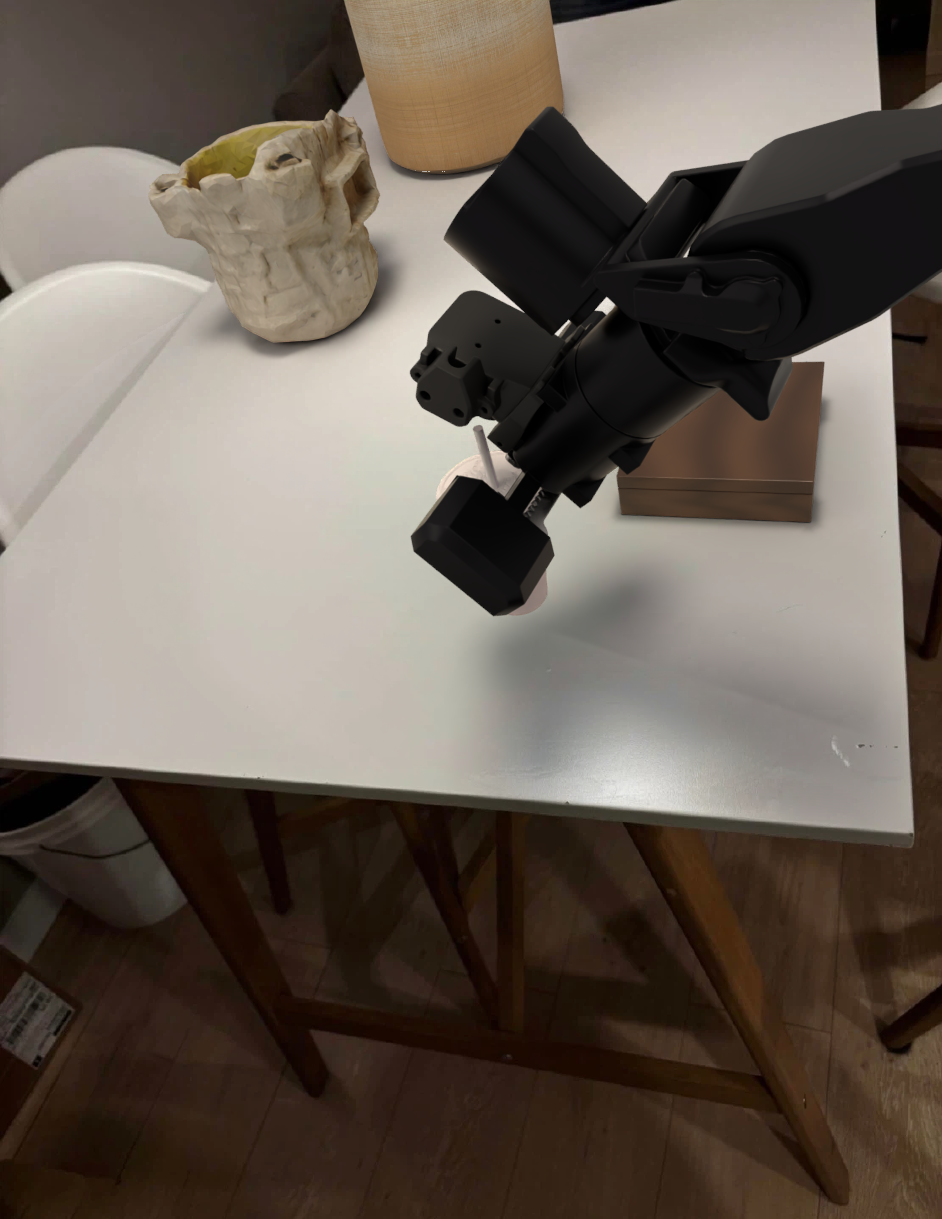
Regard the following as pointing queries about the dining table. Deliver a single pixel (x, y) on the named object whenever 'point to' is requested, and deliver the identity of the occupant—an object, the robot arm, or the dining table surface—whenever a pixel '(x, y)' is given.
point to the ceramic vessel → (281, 223)
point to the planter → (456, 76)
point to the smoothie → (500, 479)
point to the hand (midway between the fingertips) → (477, 512)
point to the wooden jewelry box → (734, 459)
